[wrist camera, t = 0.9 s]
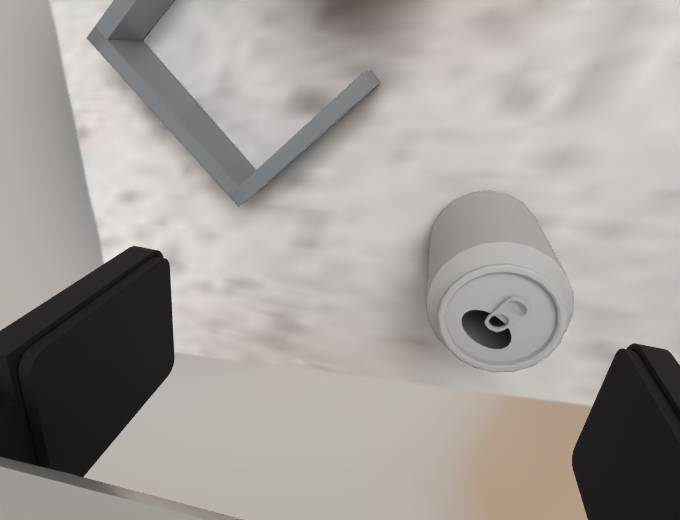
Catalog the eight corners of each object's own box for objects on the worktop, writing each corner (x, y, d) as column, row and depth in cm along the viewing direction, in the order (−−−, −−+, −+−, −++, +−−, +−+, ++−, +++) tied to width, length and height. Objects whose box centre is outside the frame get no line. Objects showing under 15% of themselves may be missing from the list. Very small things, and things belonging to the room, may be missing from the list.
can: (409, 244, 36) (395, 329, 25) (478, 165, 33) (496, 224, 22) (487, 302, 37) (505, 408, 26) (562, 230, 33) (619, 318, 23)
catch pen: (235, -105, 29) (206, -127, 25) (380, 82, 32) (372, 87, 28) (124, 38, 34) (86, 38, 30) (258, 191, 36) (238, 206, 33)
